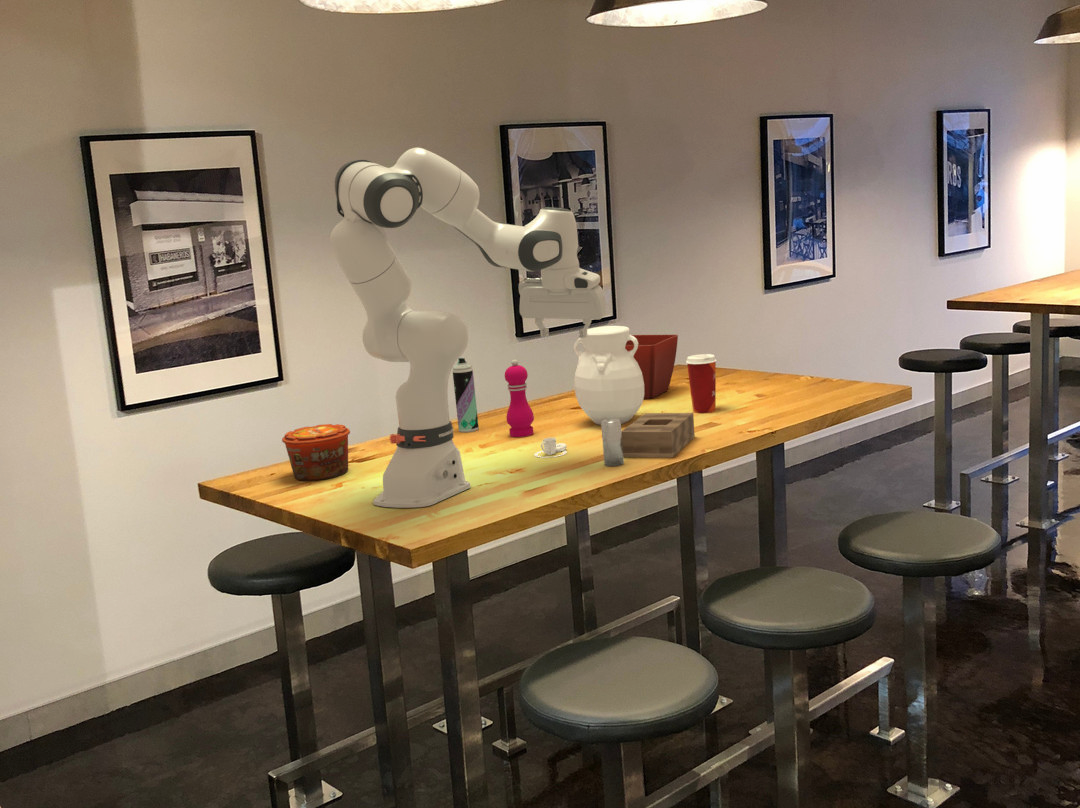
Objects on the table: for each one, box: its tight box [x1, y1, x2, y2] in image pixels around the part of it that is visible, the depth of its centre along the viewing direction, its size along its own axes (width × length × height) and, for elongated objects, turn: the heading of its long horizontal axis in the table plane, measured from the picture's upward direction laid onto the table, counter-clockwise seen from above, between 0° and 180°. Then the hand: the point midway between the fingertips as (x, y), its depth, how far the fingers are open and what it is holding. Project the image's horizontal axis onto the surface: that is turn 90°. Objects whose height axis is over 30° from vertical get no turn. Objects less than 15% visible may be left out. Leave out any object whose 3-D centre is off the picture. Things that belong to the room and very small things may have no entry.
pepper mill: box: [504, 359, 535, 438], centre depth 276 cm, size 7×7×20 cm
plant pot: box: [625, 334, 679, 400], centre depth 315 cm, size 19×19×17 cm
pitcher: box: [572, 325, 644, 426], centre depth 281 cm, size 19×18×25 cm
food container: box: [281, 423, 351, 482], centre depth 253 cm, size 16×16×11 cm
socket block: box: [621, 412, 695, 459], centre depth 250 cm, size 20×12×6 cm, turn 157°
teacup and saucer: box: [533, 437, 568, 459], centre depth 253 cm, size 9×8×4 cm
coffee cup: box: [685, 353, 718, 414], centre depth 285 cm, size 8×8×15 cm
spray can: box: [452, 357, 479, 433], centre depth 287 cm, size 6×6×20 cm
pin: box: [600, 419, 625, 468], centre depth 238 cm, size 4×4×10 cm
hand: (564, 336), depth 245 cm, fingers open, 8 cm apart
